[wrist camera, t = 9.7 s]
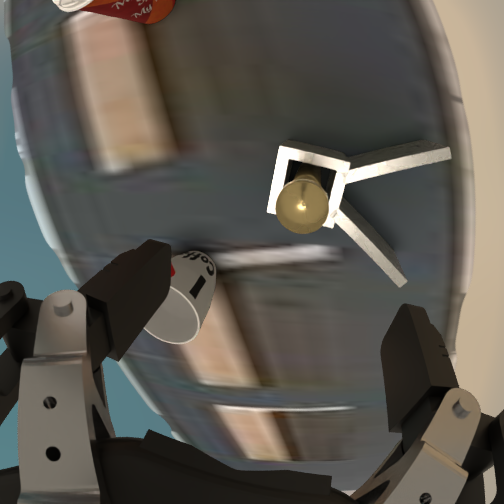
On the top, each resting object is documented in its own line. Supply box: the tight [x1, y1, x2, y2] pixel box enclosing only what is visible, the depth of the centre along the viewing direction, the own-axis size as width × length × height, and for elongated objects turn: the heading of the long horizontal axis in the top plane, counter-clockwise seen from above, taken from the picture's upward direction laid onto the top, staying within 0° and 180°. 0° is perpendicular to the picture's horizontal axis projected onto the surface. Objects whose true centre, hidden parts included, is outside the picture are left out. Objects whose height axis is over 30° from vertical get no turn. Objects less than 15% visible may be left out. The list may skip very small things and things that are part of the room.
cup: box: [144, 251, 216, 344], centre depth 34 cm, size 8×8×10 cm
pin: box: [275, 162, 329, 234], centre depth 24 cm, size 3×3×13 cm
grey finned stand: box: [267, 139, 452, 288], centre depth 26 cm, size 14×14×7 cm
